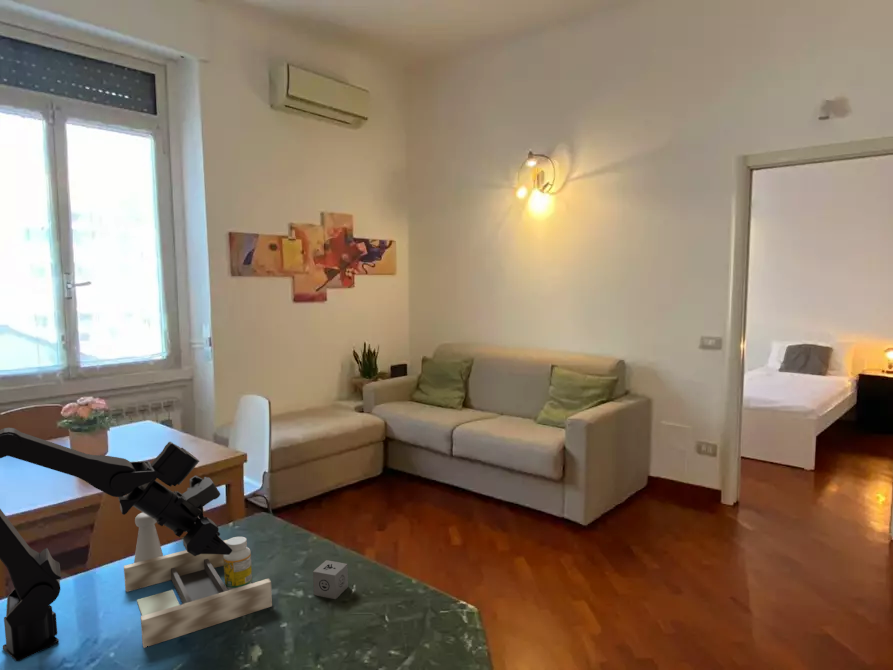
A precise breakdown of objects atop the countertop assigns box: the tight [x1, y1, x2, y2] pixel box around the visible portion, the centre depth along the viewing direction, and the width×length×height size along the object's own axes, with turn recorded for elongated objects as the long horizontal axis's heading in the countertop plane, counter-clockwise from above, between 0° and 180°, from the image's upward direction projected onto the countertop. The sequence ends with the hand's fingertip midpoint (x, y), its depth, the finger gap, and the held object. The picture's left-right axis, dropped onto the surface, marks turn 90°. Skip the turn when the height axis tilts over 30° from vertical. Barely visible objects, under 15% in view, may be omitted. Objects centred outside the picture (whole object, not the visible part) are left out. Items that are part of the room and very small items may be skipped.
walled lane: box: [123, 539, 273, 649], centre depth 120 cm, size 22×24×5 cm
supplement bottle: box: [223, 536, 253, 590], centre depth 124 cm, size 5×5×10 cm
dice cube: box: [312, 559, 349, 600], centre depth 122 cm, size 5×5×5 cm
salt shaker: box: [133, 512, 164, 563], centre depth 130 cm, size 6×6×13 cm
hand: (224, 543), depth 122 cm, fingers open, 9 cm apart
